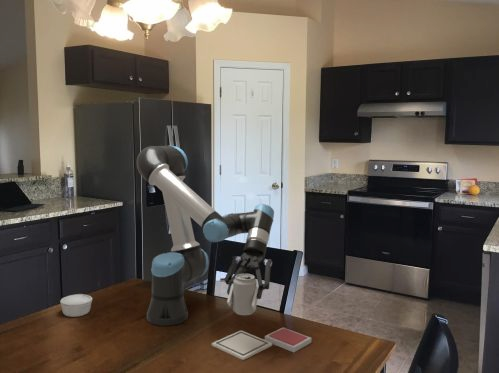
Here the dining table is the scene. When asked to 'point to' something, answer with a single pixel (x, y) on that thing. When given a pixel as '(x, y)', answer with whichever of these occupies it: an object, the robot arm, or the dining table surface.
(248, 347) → the marked board
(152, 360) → the dining table surface
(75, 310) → the ramekin
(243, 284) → the can
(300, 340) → the ink pad
